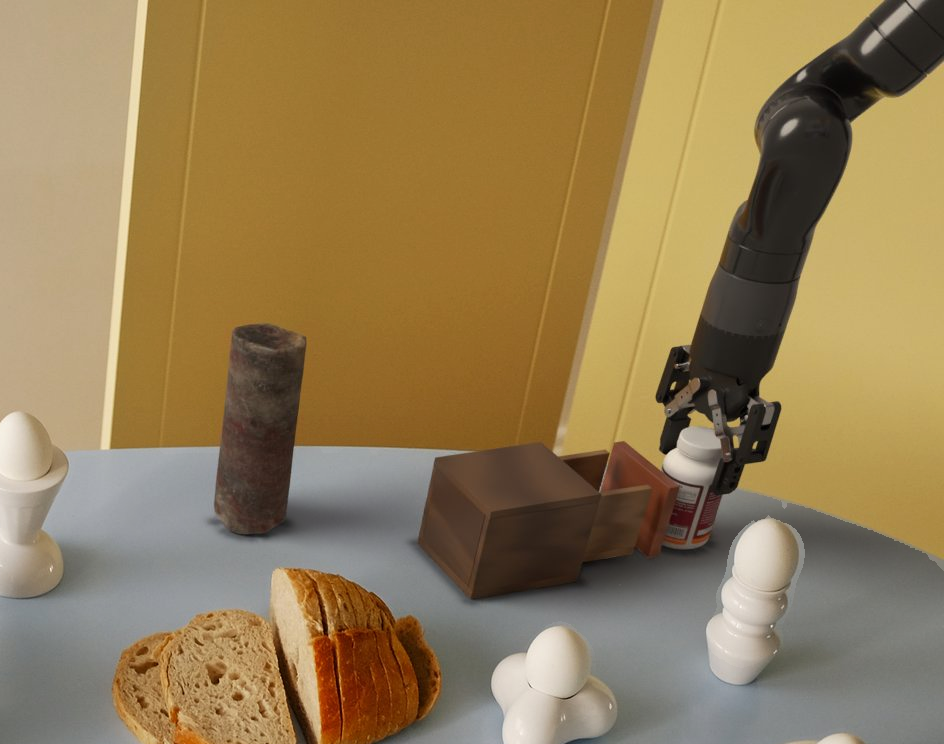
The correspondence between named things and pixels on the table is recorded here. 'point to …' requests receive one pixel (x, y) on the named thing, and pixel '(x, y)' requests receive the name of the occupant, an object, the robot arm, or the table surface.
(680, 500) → the pill bottle
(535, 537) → the cabinet
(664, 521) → the drawer
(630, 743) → the table surface
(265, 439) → the brown clay vase
